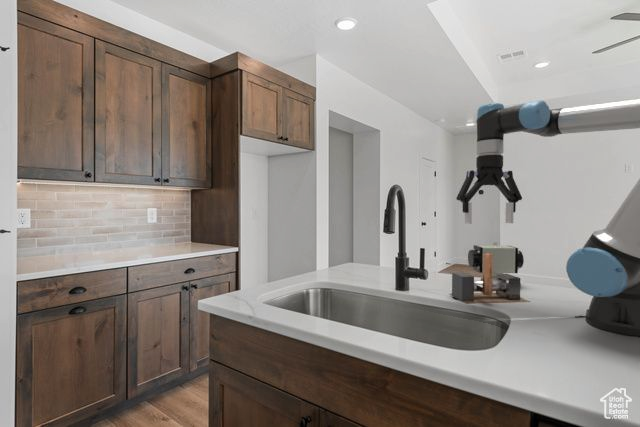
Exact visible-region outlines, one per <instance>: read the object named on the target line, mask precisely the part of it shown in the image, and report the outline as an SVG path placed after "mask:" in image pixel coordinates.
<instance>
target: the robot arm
mask: <svg viewBox="0 0 640 427" xmlns="http://www.w3.org/2000/svg"><path fill="white" fill-rule="evenodd" d="M476 115H477V117H476V121H475V122H476V155H477V157H476V161H475V162H476V165H475V166H476V167H475V168H476V171H475V170H468V171H466V177H465V180H464V182H463V183H462V185H461V188H460V189H459V191H458V194H457V196H456V198H455V199H456V200H457V201H458V202H460V203H462V213H464V224H468V225H469V224H470V225H471V224H472V219H473V218H472V216H473V214H472V213H473V208H472V207H473V206H472V205H473V204H472V202H470V201H471V200H472V198H473V197H474V196H475V195H476V193H477V192H478V191H479V190H480V189H481V188H482V187H483V186H495V187H496V188H497V189H498V190H499V191H500V192H501V194H502V196H504V198H505V199H506V200H507V201H508V202H505V224H514V213H516V210H517V209H516V207H517V205H516V203H518V202H519V201H522V199H523V197H522V194H521V192H520V190H519V188H518V185H517V183H516V181H515V179H514V175H513V170H505V171H503V166H504V155H503V153H504V136H505V135H507V134H508V135H509V134H512V133H518V132H519V133H520V132H524V133H528V134H533V135H537V136H540V137H544V138H546V137H551V138H552V137H556V136H558V135H564V134H567V135H568V134H577V133H578V134H579V133H580V134H581V133H593V132H605V131H606V132H607V131H618V130H619V131H620V130H621V131H623V130H633V129H640V97H636V98H628V99H621V100H614V101H606V102H598V103H592V104H591V103H590V104H583V105H576V106H569V107H560V108H555V109H554V108H553V109H550V107H549V105H548V104H547V102H546V101H544V100H536V101H535V100H534V101H528V102H525V103H521V104H518V105H514V106H510V107H505V106H504V105H503V104H502V103H501V102H499V103H498V102H494V103H493V102H492V103H485V104H483V105H481V106H479V108H478V109H477V114H476ZM475 177H476V178H477V180H476V181H475V182H474V183H473V181H474V178H475ZM502 178H503V179H504V180H503V179H502ZM472 183H473V186H472V187H471V185H472ZM470 187H471V188H470ZM565 265H566V266H565V269H566V274H567V278H569V281H570V282H571V284H572V285H573V286H574V287H575V288H576V289H578V290H579V291H580V292H582V293H583V294H586V295H588V296H592V298H591V301H590V304H589V307H588V309H587V310H586V312H585V321H586V323H588V325H591V326H593V327H596V328H598V329H601V330H604V331H608V332H611V333H616V334H622V335H628V336H634V337H640V178H639V179H638V180H637V181H636V183H635V185H634V186H633V188H632V189H631V190H630V192H629V193H628V194H627V196H626V198H625V199H624V200H623V202H622V203H621V205H620V206H619V208H618V210H617V211H616V212H615V213H614V215H613V216H612V218H611V219H610V221H609V222H608V224H606V227H604V229H599V230H595V231H593V232H592V234H591V235H590V237H589V238H588V240H587V241H586V242H585V243H584V245H583V247H582V248H579V249H577V250H576V251H573V253H572V254H570V256H569V257H568V259H567V261H566V264H565Z"/></svg>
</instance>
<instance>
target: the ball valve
mask: <svg viewBox="0 0 640 427" xmlns="http://www.w3.org/2000/svg"><path fill="white" fill-rule="evenodd" d="M483 253H492V254H493V280H496V274H518V273H519V272H518V270H519V269H521V268H523V265H524V262H525V261H524V254H523V252H522V251H521V250H519V248H518V247H515V246H512V245H498V242H497V241H493V242H492V245H486V244H485V245H484V244H483V245H482V244H479V245H476V244H475V245H473V248H472V249H469V251H468V253H467V262H468V265H469V267H470V268H473V270H474V271H476V272H478V273H479V274H483ZM479 281H483V276H481V277H480V280H479Z"/></svg>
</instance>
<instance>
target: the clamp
mask: <svg viewBox="0 0 640 427" xmlns="http://www.w3.org/2000/svg"><path fill="white" fill-rule="evenodd" d="M496 280H506V291H495V293H496V295H498V296H500V297H503V298H505V299H507V300H520V298H521V289H520V283H521V277H518V276H515V275H511V274H510V273H503V274H496Z"/></svg>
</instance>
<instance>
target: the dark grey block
mask: <svg viewBox="0 0 640 427" xmlns="http://www.w3.org/2000/svg"><path fill="white" fill-rule="evenodd" d="M451 275H452V276H451V294H452V296H451V297H453V296H454V297H453V298H454V299H457V300H459V301H460V300H461V302H462V301H474V293H475V292H474V281H475V276H473V275H471V274H468V273H466V272H464V271H463V272H451Z"/></svg>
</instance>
